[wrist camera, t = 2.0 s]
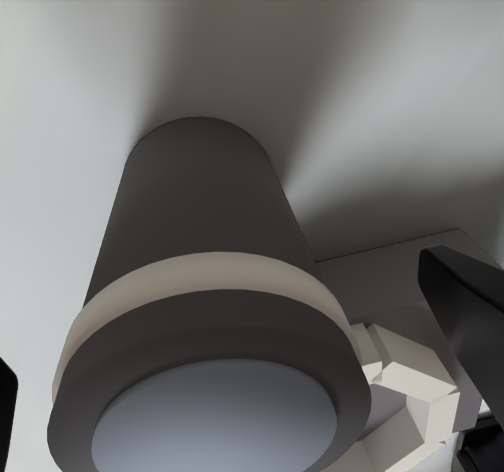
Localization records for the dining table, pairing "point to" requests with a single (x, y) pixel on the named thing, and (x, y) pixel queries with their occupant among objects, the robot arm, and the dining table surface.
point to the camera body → (402, 355)
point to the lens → (205, 324)
